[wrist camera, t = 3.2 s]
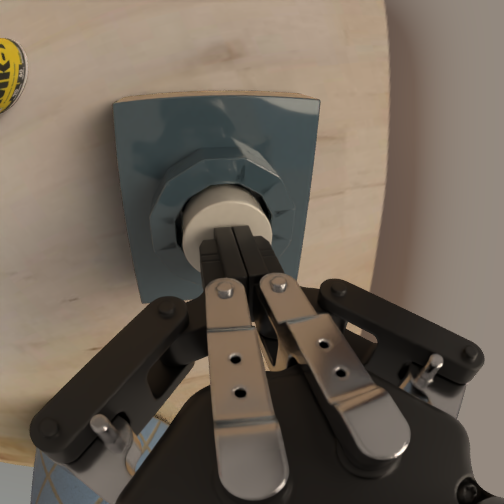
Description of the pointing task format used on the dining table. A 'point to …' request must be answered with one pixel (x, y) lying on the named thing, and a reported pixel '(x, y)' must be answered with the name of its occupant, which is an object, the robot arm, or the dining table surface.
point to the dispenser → (210, 172)
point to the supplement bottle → (11, 72)
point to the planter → (71, 488)
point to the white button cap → (220, 217)
